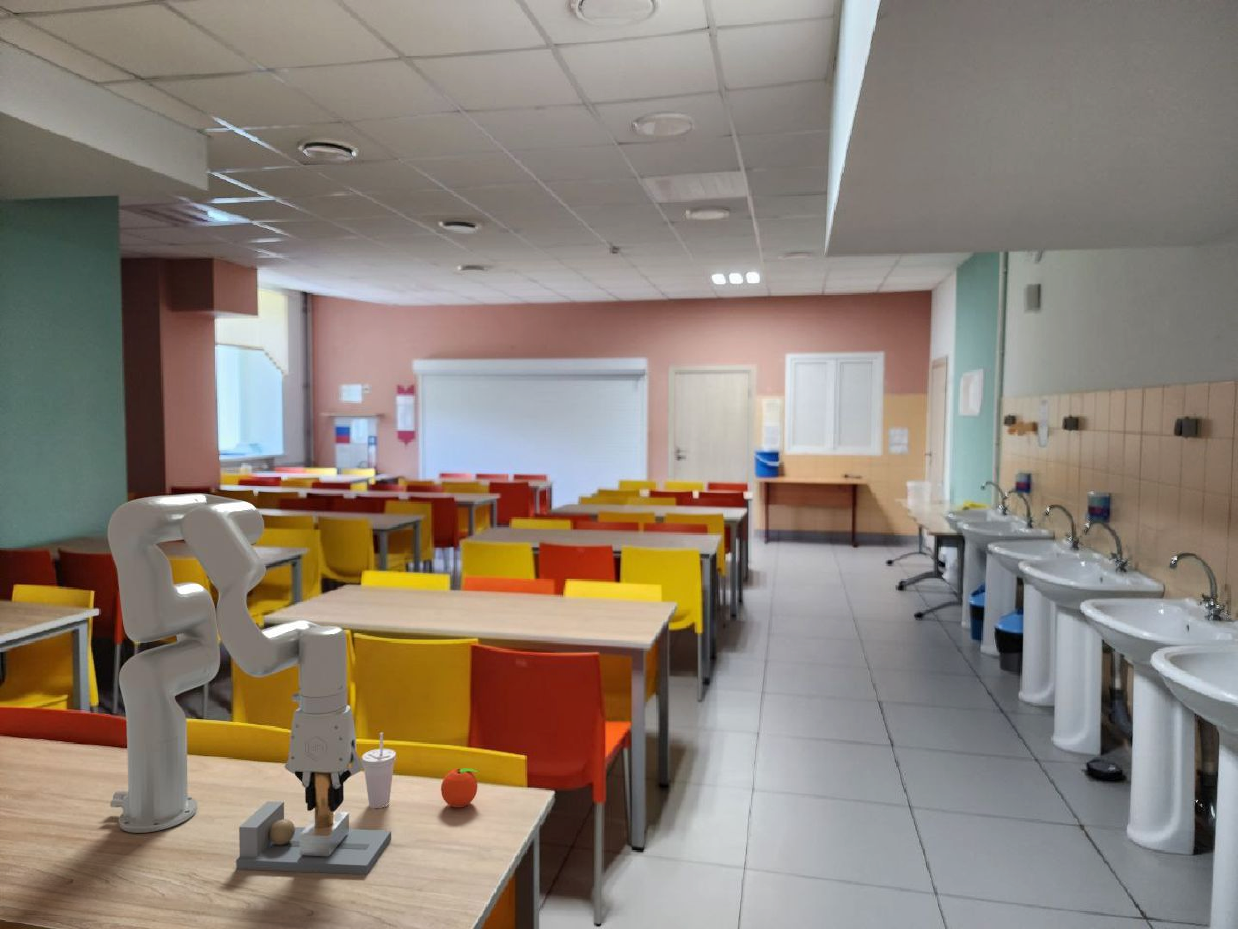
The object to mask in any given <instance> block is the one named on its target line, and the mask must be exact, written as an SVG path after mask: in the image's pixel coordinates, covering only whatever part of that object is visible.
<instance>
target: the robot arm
mask: <svg viewBox="0 0 1238 929" xmlns="http://www.w3.org/2000/svg"><path fill="white" fill-rule="evenodd" d="M264 532H265V520H264V518H263V515H262V514H261V512H260V510H258V508H257V507H256V506H254V504H252V503H250V502H247V501H244V500H242V499H240V500H239V499H235V498H229V497H224V496H219V495H214V494H208V493H197V492H196V493H184V494H183V493H182V494H171V495H170V494H169V495H157V496H148V497H142V498H136V499H132V500H130V501H127V502H125V503H122V505H120V506H119V507H117V508H116V509H115V511H114V512H113V513H112V514H111V517H110V518H109V522H108V527H107V539H108V545H109V549H110V553H111V555H112V558H113V560H114V563H115V566H116V572H117V578H118V588H119V590H118V591H119V597H120V598H119V599H120V607H121V615H122V623H123V629H124V633H125V634H126V636H127V637H128V639H130V640H131V641H132V642H134V643H142V644H143V643H145V644H146V643H149V642H150V643H151V642H156V641H159V640H164V639H167V638H171V637H174V636H176V640H177V641H175V642H172V643H167V644H163V645H159V646H156V647H152V648H150V649H146V650H144V651H141V652H139V653H137V654H135V655H133V656H131V657H130V658H128V660H127V661H125V662H124V664H123V665H122V666H121V668H120V671H119V677H118V683H119V688H120V692H121V697H122V699H123V705H124V709H125V719H126V740H127V741H126V742H127V743H126V746H127V747H126V748H127V750H126V751H127V789H128V791H126V790H125V791H123V790H117V791H115V792H114V794H113V796H112V800H111V801H110V804H109V806H110V808H121V809H122V813H121V814H120V816H119V818H118V826H119V828H120V829H121V830H122V831H125V832H126V833H136V834H137V833H139V834H144V833H152V832H153V833H154V832H157V831H158V832H159V831H162V830H167V829H171V828H172V827H175V826H178V825H179V824H182V823H184V822H185V821H187V820H189V819H190V818H191V817H193V816H194V815H195V814H196V812H197V811H198V801H197V800H196V798H194V797H192V796H189V793H188V792H189V789H188V787H189V785H188V739H187V738H188V737H187V736H188V735H187V731H188V730H187V728H188V727H187V716H186V715H185V711H184V710H183V709H182V707H181V706H180V705H179V703H178V702H177V701H176V698H175V697H176V696H178V695H180V694H182V693H184V692H187V691H190V690H192V689H194V688H198V687H201V686H203V685H205V684H208V683H209V682H211V681H212V680H213V679H214V678H215V677H216V676H217V675H218V672H219V669H220V666H221V665H220V664H221V653H220V652H221V650H220V642H219V641H221V642H222V644H223V646H224V648H225V649H226V651H227V653H228V654H229V655H230V657H231V658H232V659H233V661H234V662H235V664H236V665H237V666H238V668H240V670H242V672H244V673H245V674H247V675H248V676H251V677H253V678H263V677H267V676H270V675H273V674H276V673H279V672H281V671H283V670H287V669H290V668H292V667H293V668H294V667H295V666H298V680H299V681H298V686H299V687H298V689H299V690H298V692H297V693H294V692H293V694H292V696H291V700H292V702H296V703H298V706H297V707H298V708H296V709H295V710H294V712H293V717H292V723H291V728H290V735H289V736H290V737H289V749H288V759H287V761H286V763H285V765H284V769H285V770H286V771H288V772H290V773H291V774H293V775H295V777H296V778H297V779H298V780H299V782H301V786H302V787H303V788H305V789H304V791H305V792H304V793H305V794H304V797H305V799H304V800H305V804H306V805H307V806H306V810H307V811H310V812H311V811H313V810H315V801H314V772H321V773H331V775H332V783H333V784H332V787H331V789H330V811H331V812H336V811H337V810H338V809H339V807H340V806H341V805H342V804H343V802H344V795H345V794H344V784H345V782H346V781H347V780H348V779H350V777H352V776H354V775H356V774H358V773H360V772H361V771H362V770H364V765H363V763H362V762H361V761H362V759H361V757H360V756H359V754H358V753H357V735H356V727H355V719H354V716H353V711H352V708H351V706H350V705H348V688H347V687H348V683H347V680H348V679H347V678H348V676H347V675H348V674H347V673H348V670H347V664H348V663H347V660H348V659H347V658H348V656H347V634H346V632H345V630H344V629H343V628H341V627H340V626H335V625H320V624H317V623H314V622H311V621H308V620H304V619H295V620H290V621H287V622H284V623H281V624H275V625H273V626H270V627H267V628H264V629H260V627H259V626H258V625H257V624H256V622H255V620H254V618H252V614H250V612H249V609H248V604H247V596H248V593H250V591H252V590H253V589H254V588H255V587H256V586H257V585H258V584H260V582H261V581H262V580H263V578H264V577H265V575H266V572H267V567H266V565H265V563H264V561H263V559H261V557H260V556H259V554H258V553H257V551H256V550H255V549H254V547H253V545H252V544H255V543H257V542H258V541H259V540H260V539H261V538H262V536H263V535H264V534H263V533H264ZM181 540H184V542H185V543H186V545H187V546H188V548H189V549H190V550H191V552H192V554H193V556H194V557H195V559H196V560H197V562H198V563H199V564H200V566H201V568H202V569H203V571H204V572H205V574H206V576H207V577H208V578H209V580H210V581H211V583H212V584H213V586H214V587H215V589H216V590H217V592H218V601H217V605H216V608H215V603H214V600H213V597H212V595H211V594H210V592H209V591H208V589H206V587H204V586H203V585H201V584H199V583H197V582H190V581H189V582H181V583H175V584H174V580H173V573H172V571H173V570H172V565H171V563H170V560H169V558H168V557H167V556H166V554H165V552H164V551H163V550H162V549H161V548H160V547H159V546H158V545H157V544H161V543H166V542H174V541H175V542H176V541H181ZM219 638H220V640H219ZM350 765H351V766H350ZM349 766H350V767H349Z"/></svg>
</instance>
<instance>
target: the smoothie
mask: <svg viewBox="0 0 1238 929" xmlns="http://www.w3.org/2000/svg"><path fill="white" fill-rule="evenodd" d="M396 755H397V753H396V751H395V750H393V749H390V748H384V732H380V733H379V748H377V749H372V750H369V751H366V752H365V753H363V754H362V756H361V762H362V763H363V765H364V767H363V770H364V771H363V772H364V777H365V786H366V791H367V792H366V793H367V798H368V799H367V801H368V807H369V808H371V809H373V808H380V809H382V808H381V807H383V806H386V805H387V804H388V803H389V804H390V799H391V791H392V790H391V789H392V783H393V774H394V768H395V767H394V764H395V761H396V759H397V756H396ZM386 807H387V806H386Z"/></svg>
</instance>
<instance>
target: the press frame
mask: <svg viewBox="0 0 1238 929" xmlns="http://www.w3.org/2000/svg"><path fill="white" fill-rule="evenodd" d="M306 827H307V826H306ZM306 827H304V826H303V827H302V826H300V827H299V826H295V825H294V823H293V821H291V820H289V819H287V818H285V802H284V801H273V800H271V801H270V800H268V801H266V802H265V803H264V804H263V805H262V806H260V807H259V808H258V809H257V810H256V811H255V812H254V813H253V814H252V815H251V816H250V817H249V818H248V819H246V820H245V821H244V822H243V823H242V824H240V826H239V827H238V833H239V834H238V835H239V836H238V837H239V838H238V840H239V844H238V845H239V857H238V858H237V859H236V860H235V862H236V864H235V865H236V866H235V868H236V869H237V870H256V871H257V870H258V871H259V870H260V871H279V872H280V871H282V872H303V873H325V874H346V875H348V874H349V875H350V874H351V875H368V874H369V872H370V871H371V869H373V867H374V865H375V863H376V862H377V860H378V859H379V857H380V856H381V855H382V853H383V852H384V850H386V849H385V848H386V847H388V844H390V842H391V840H392V831H391V830H380V829H379V830H377V829H356V828H355V829H353V828H352V829H351V828H349V832H348V833H347V835H346V836H345V837H344V838H343V840H342V841H341V842H340V843H339V845H338V846H337V847H336V848H335V849H334V851H333V852H332V853H331V854H330V856H311V855H300V848H299V835H300V834H301V833H302V831H303V830H304V829H305V828H306Z"/></svg>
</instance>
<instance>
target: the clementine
mask: <svg viewBox="0 0 1238 929" xmlns="http://www.w3.org/2000/svg"><path fill="white" fill-rule="evenodd" d="M472 772H475V773H477V774H479V772H478V770H476V769H474V768H466V767H465V768H461V767H460V768H455V769H453V770H451V771H449V772H447V774H446V775H445V777H444V778H443V780H442V782H441V784H440V785H441V788H440V791H441V796H442V799H443V800H444V802H445V803H446V804H447V805H449V806H450V807H453V808H463V807H465V806H467V805H469V804H470V803H471V802H472V801H473V800H474V799H475V798H476V795H477V792H478V788H479V787H478V786H479V785H478V781H477V779H476V776H475V774H474V773H472Z"/></svg>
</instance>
